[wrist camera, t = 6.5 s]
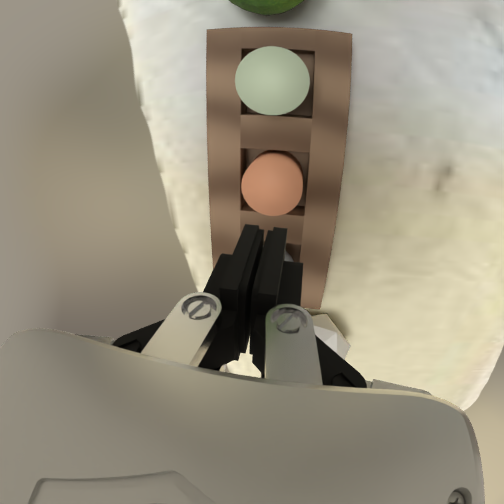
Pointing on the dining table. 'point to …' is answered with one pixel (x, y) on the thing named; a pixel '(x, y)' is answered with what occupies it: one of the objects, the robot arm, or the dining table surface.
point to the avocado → (266, 5)
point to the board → (279, 144)
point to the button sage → (272, 80)
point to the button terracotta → (273, 183)
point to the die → (330, 334)
